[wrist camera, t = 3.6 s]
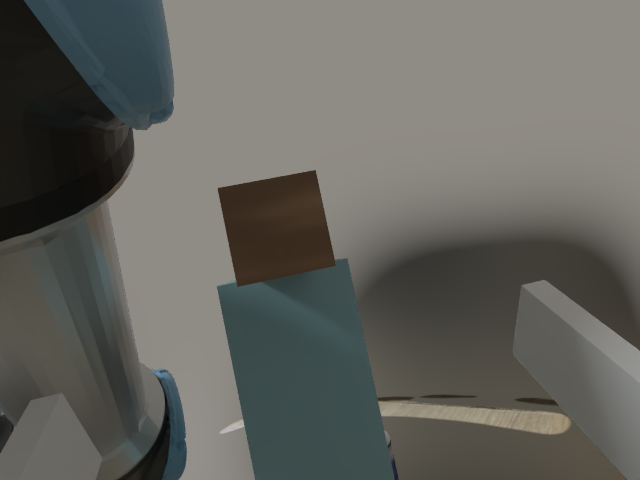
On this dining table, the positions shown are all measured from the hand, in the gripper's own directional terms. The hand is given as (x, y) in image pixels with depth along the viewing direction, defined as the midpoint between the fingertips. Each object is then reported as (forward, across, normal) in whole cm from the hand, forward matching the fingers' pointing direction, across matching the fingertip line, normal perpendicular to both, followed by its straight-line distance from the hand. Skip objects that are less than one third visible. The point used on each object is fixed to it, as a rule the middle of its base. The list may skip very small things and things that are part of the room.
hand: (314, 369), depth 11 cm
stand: (+4, 0, -34) cm, 34 cm away
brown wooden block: (+14, 0, -5) cm, 15 cm away
